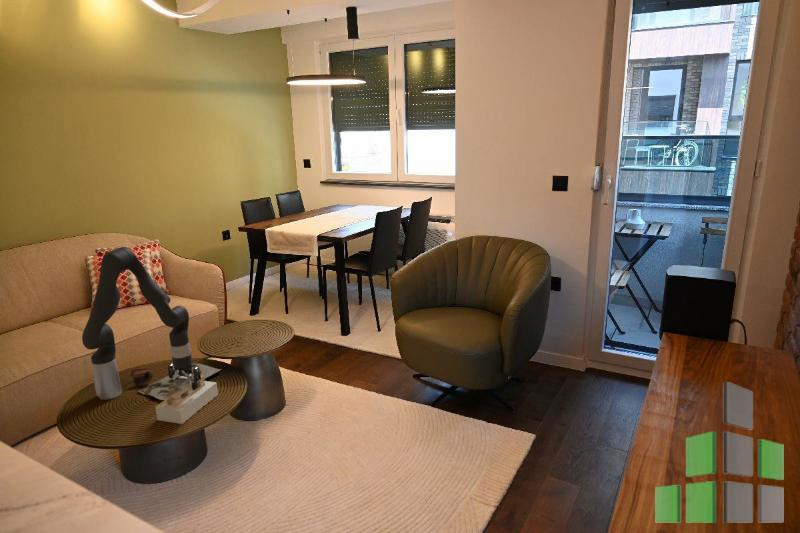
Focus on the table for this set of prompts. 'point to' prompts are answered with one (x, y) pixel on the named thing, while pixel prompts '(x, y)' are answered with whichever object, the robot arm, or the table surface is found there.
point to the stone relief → (166, 381)
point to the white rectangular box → (187, 405)
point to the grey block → (181, 384)
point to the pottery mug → (138, 377)
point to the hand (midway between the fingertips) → (186, 388)
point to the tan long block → (183, 393)
